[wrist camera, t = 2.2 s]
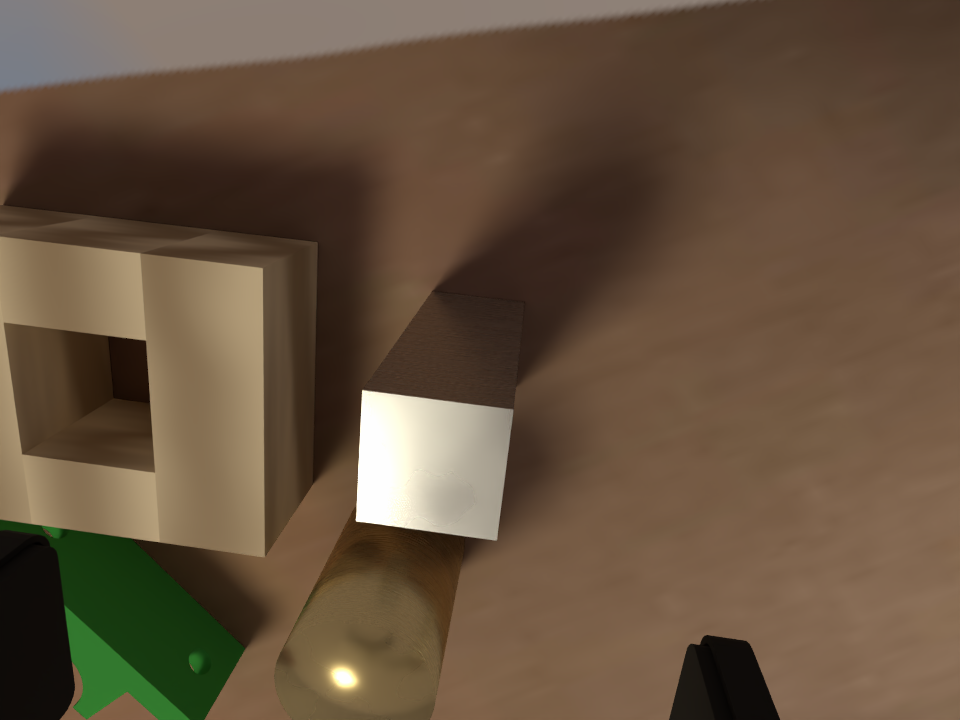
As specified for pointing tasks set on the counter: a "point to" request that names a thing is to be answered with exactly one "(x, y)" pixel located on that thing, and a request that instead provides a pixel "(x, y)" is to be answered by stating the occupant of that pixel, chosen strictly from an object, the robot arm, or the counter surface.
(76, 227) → the socket block
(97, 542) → the pipe clamp
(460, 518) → the square bit
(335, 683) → the round bit
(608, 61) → the counter surface
